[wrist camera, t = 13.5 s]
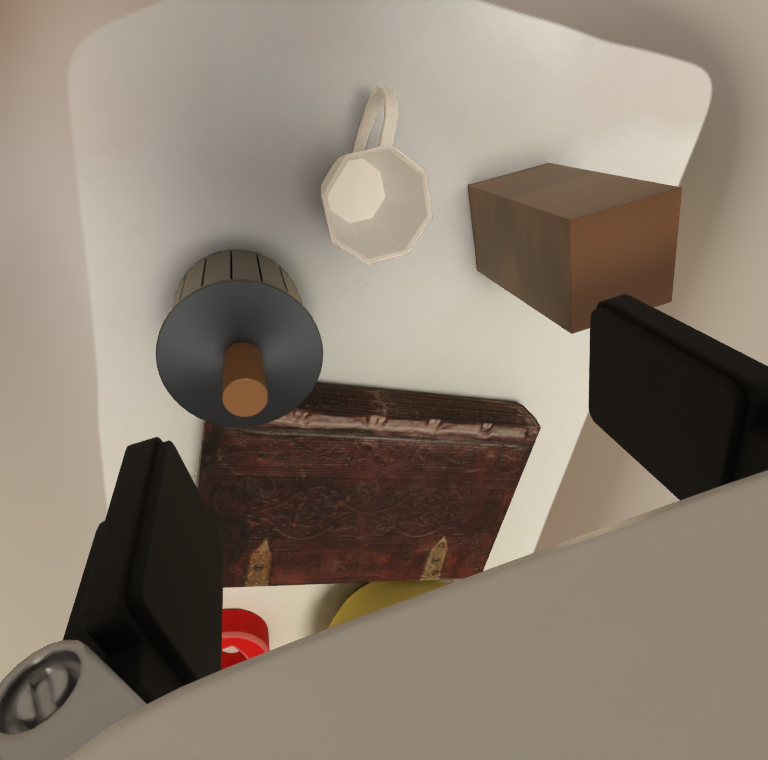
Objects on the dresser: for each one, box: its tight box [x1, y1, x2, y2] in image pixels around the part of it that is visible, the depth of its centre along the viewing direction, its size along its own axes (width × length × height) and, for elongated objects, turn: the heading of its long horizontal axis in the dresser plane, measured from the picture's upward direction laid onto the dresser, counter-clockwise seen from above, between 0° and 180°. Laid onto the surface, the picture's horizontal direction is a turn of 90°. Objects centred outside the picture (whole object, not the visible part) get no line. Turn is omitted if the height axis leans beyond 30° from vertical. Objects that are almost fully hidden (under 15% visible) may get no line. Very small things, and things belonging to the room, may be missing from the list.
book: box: [197, 383, 541, 588], centre depth 48 cm, size 29×19×5 cm, turn 76°
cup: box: [321, 87, 432, 265], centre depth 34 cm, size 7×10×8 cm
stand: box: [468, 163, 682, 334], centre depth 36 cm, size 7×7×14 cm
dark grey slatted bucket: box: [171, 250, 303, 310], centre depth 36 cm, size 9×9×8 cm
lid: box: [156, 279, 323, 427], centre depth 30 cm, size 10×10×6 cm
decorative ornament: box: [221, 609, 270, 670], centre depth 54 cm, size 10×10×3 cm
